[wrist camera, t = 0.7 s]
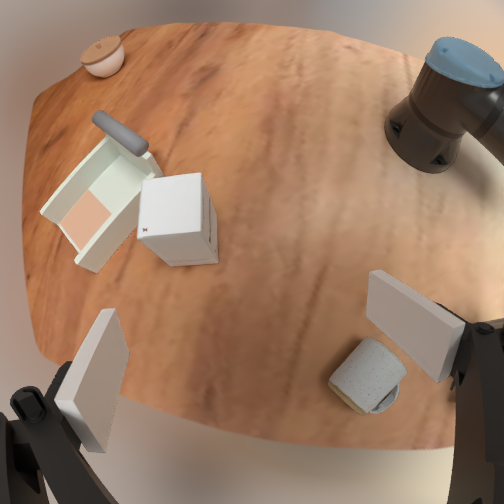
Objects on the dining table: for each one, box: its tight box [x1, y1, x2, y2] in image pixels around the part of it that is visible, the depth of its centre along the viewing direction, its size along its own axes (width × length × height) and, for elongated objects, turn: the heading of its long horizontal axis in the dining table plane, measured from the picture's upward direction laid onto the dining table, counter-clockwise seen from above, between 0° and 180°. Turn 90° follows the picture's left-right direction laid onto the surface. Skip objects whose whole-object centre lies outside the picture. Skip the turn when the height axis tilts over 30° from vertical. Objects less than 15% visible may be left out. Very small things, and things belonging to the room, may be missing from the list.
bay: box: [40, 110, 165, 273], centre depth 39 cm, size 19×14×12 cm
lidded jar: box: [80, 36, 125, 77], centre depth 52 cm, size 11×11×9 cm
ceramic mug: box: [328, 337, 407, 415], centre depth 32 cm, size 11×8×8 cm
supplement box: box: [137, 173, 219, 266], centre depth 37 cm, size 7×7×13 cm
